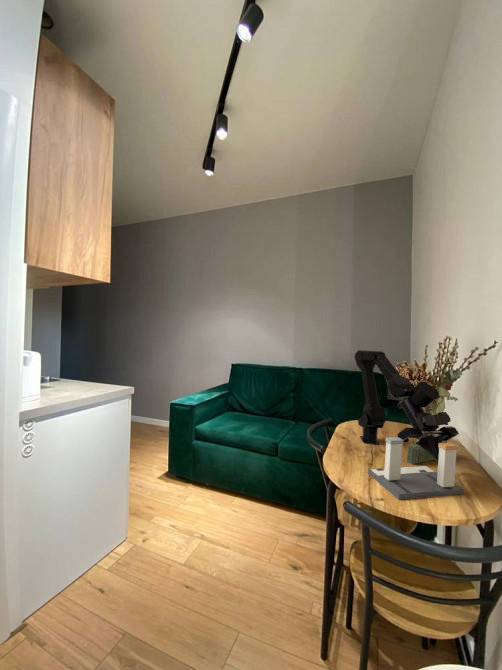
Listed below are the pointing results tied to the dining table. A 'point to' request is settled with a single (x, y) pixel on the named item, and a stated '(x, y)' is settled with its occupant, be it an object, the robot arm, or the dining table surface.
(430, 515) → the dining table surface
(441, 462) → the lever
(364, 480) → the dining table surface
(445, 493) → the switch bank
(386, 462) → the lever
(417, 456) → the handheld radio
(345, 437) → the dining table surface
